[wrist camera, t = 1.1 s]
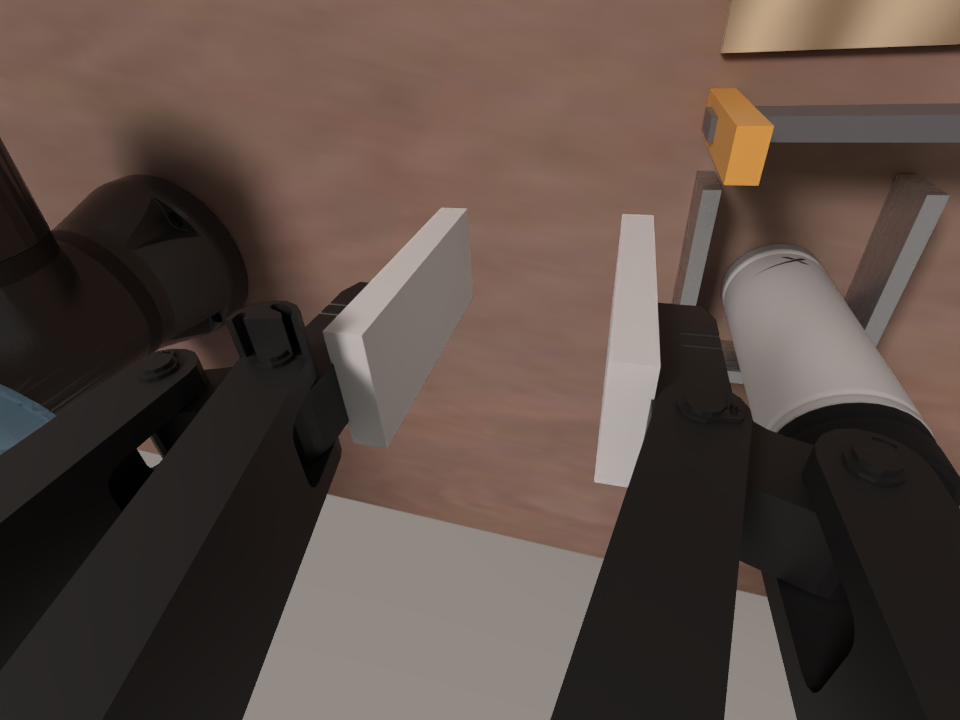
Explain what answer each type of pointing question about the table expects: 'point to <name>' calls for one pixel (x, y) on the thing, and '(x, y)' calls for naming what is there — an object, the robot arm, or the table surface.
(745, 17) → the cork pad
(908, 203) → the holder
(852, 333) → the travel mug
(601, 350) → the table surface
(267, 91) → the table surface
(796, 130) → the bar
